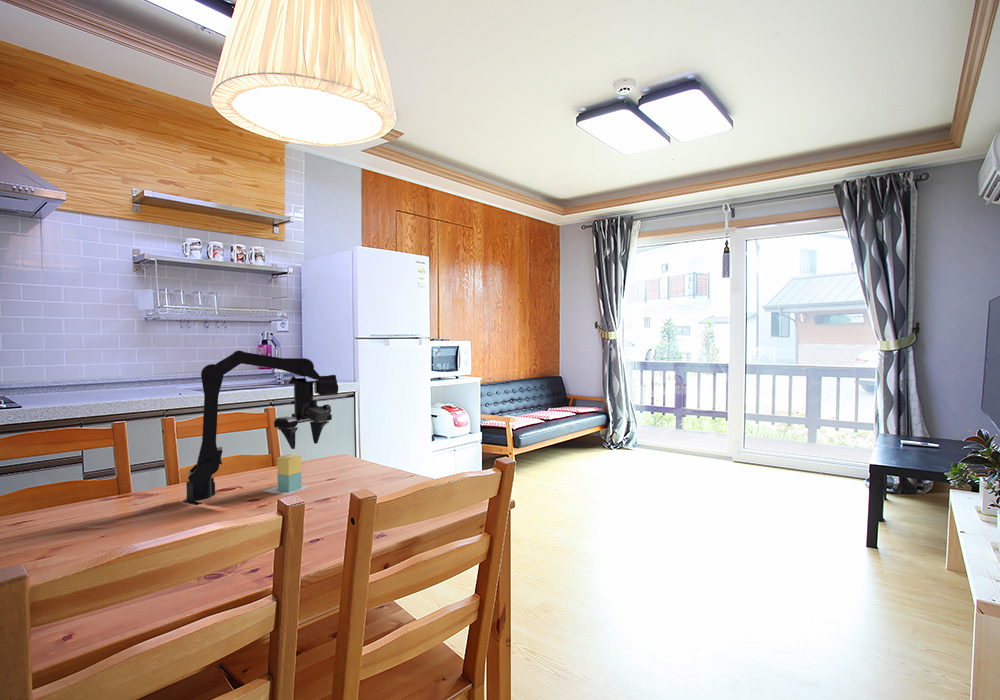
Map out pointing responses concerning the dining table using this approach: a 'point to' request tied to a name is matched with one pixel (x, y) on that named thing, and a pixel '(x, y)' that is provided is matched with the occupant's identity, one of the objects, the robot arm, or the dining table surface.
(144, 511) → the dining table surface
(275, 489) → the build plate
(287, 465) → the ochre brick
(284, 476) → the teal brick
